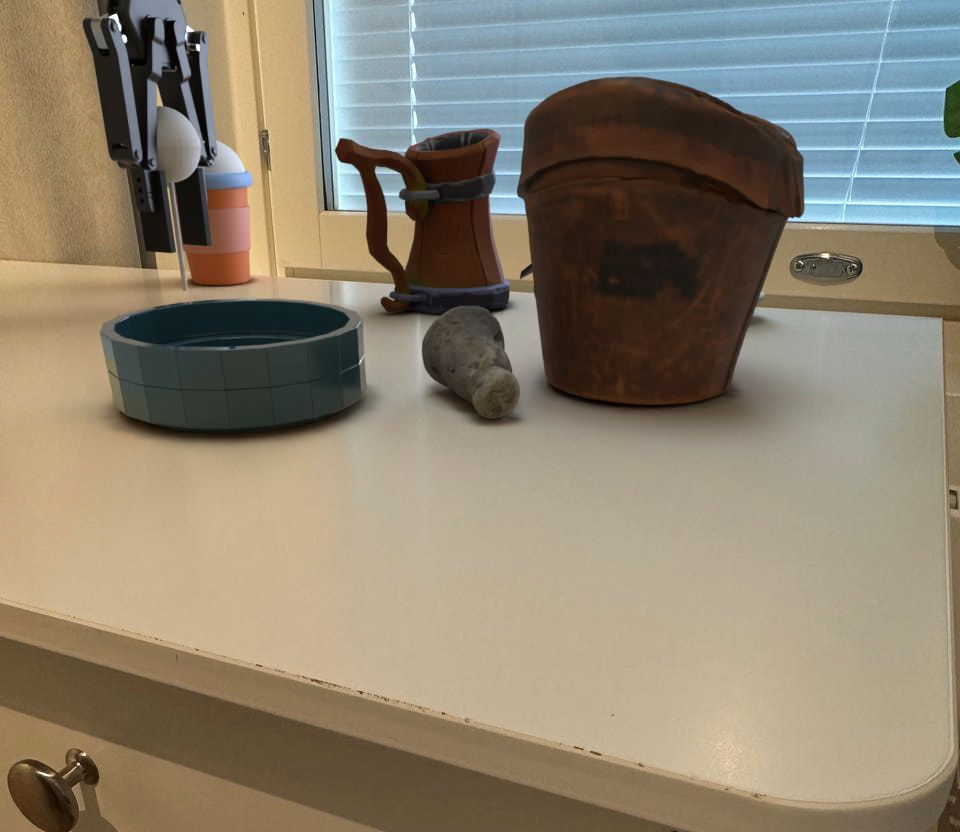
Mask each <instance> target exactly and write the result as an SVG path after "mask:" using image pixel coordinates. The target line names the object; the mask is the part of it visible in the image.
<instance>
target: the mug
mask: <svg viewBox="0 0 960 832" xmlns="http://www.w3.org/2000/svg"><path fill="white" fill-rule="evenodd" d="M501 140H502V135H501V134H500V133H498V131H496V130H494V129H492V128H491V129H490V128H475V129H471V130H457V131H451V132H445V133H442V134H439V135H435V136H432V137H427V138H425V139H424V140H423V141H421V142H417V143H414V144H412V145H409V146H408V148H407V149H406V151H405V152H404V155H402V154H400V153H398V152H396V151H393V150H390V149H379V148H372V147H368V146H365V145H362V144H359V142H358V143H357V142H356V141H354V140H353V139H350V138H345V137H342V138H339V140H338V142H337V144H336V146H335V149H334V152H335V155H336V158H337V160H338V161H339V162H340V163H341V164H346V165H351V166H353V168H355V169H356V171H358V173H359V176H360V178H361V183H362V186H363V190H364V195H365V202H366V226H365V227H366V228H365V238H366V239H365V240H366V243H367V247H368V248H367V249H368V253H369V255H370V256H371V257H372V258H373V259H374V260H375V261H376V263H378V264H379V265H381V267H383V268H384V269H385V270H387V271H388V272H389V273H390V274H391V277H392V280H393V283H394V291H393V290H392V291H390V292H389V293H388V294H389V295H388V296H382V297H381V298H380V305H381V307H382V308H383V310H384V311H385V312H387V313H400V312H403V311H406V310H408V311H409V310H410V311H412V312H417V313H418V312H419V313H427V314H434V315H442V314H444V313H445V312H447V311H448V310H450V309H453V308H456V307H460V306H478V307H483V308H485V309H487V310H488V311H489V310H494V309H495V310H496V309H501V308H506V307H507V305H508V304H509V300H510V287H511V286H510V285H511V284H510V282H509V280H507V279H506V278H505V274H504V271H503V270H504V269H503V267H502V263H501V260H500V256H499V253H498V249H497V245H496V240H495V237H494V229H493V222H492V215H491V203H490V195H491V194H492V192H493V190H494V187H495V185H496V180H497V176H496V172H495V168H494V167H495V162H496V158H497V154H498V151H499V147H500V145H501V144H500V143H501ZM377 167H378V168H386V169H388V170H392V171H394V172H396V173H398V174H400V175H401V178H402V181H403V183H404V187H405V188H404V187H403V188H401V189H400V191H399V192H398V198H399V199H400V200H403V201H404V210H405V215H406V216H407V217H408V218H409V219H410V220H411V221H413V222H414V231H413V239H412V243H411V248H410V251H409V255H408V259H407V262H406V265H405V268H404V266H403V264H402V263H401V262H400V261H399V259H398V258H397V257H396V256H395V254H393V253H392V252H391V251H390V248H389V245H388V227H389V226H388V225H389V224H388V223H389V222H388V221H389V220H388V207H387V201H386V197H385V194H384V191H383V188H382V186H381V183H380V181H379V179H378V177H377V173H376V169H377Z"/></svg>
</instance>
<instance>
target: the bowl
mask: <svg viewBox="0 0 960 832" xmlns="http://www.w3.org/2000/svg"><path fill="white" fill-rule="evenodd" d="M363 321H364V320H363V318H362V317H361V316H360V315H359V314H358V313H357V312H356V311H355V310H352V309H349V308H346V307H343V306H340V305H337V304H331V303H325V302H318V301H313V300H302V299H290V298H289V299H287V298H253V297H252V298H251V297H250V298H249V297H248V298H247V297H246V298H224V299H223V298H222V299H205V300H196V301H185V302H184V301H183V302H176V303H169V304H163V305H157V306H152V307H151V306H150V307H146V308H141V309H138V310H133V311H129V312H126V313H123V314H118V315H116V316H115V317H113V318H111V319H109V320H107V321H105V322H103V323H102V324H101V327H100V330H99V336H100V341H101V345H102V350H103V351H102V352H103V356H104V360H105V366H106V369H107V375H108V380H109V384H110V390H111V395H112V399H113V404H114V407H116V408H117V409H118V410H119V411H121V412H122V413H123V414H124V415H125V416H127V417H129V418H133V419H136V420H140V421H141V422H142V421H143V422H146V423H149V424H150V425H154V426H156V427H157V426H158V427H161V428H163V429H169V430H175V431H181V432H189V433H202V434H245V433H259V432H266V431H274V430H282V429H287V428H293V427H298V426H302V425H306V424H311V423H313V422H317V421H320V420H323V419H325V418H327V417H330V416H332V415H334V414H336V413H338V412H340V411H342V410H345V409H346V408H348V407H350V406H352V405H353V404H355V403H357V402H358V401H360V400H362V398H363V396H364V394H365V392H366V390H367V375H366V357H365V356H366V355H365V341H364V340H365V339H364V338H365V337H364V322H363Z"/></svg>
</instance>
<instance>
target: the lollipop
mask: <svg viewBox="0 0 960 832" xmlns="http://www.w3.org/2000/svg"><path fill="white" fill-rule="evenodd" d="M142 151H143V150H142ZM200 153H201V143H200V138H199V136H198V134H197V132H196V130H195V129H194V127H193V125H192V124H191V123H190V121H189V120H188V119H187V118H186V117H185V116H184V115H182V114H181V113H180V112H178V111H176V110H174V109H172V108H169V107H164V106H163V105H157V167H156V169H155V170H159V171H165V176H166V182H168V186H169V188H168V194H169V201H170V208H171V216H172V223H173V230H174V237H175V244H176V252H177V257H178V264H179V271H180V278H181V285H182V286H181V287H182V291H184V292H188V291H189V287H188V280H187V273H186V266H185V257H184V250H183V247H182V242H181V235H180V227H179V220H178V213H177V205H176V198H175V191H174V183H173V182H179V181H182V180H184V179H186V178H188V177H189V176H190V175H191V174H192V173H193V172H194V171H195V169H196V167H197V165H198V163H199V159H200Z"/></svg>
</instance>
